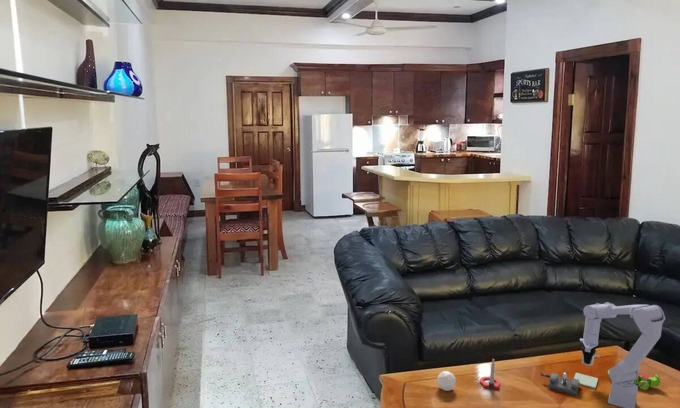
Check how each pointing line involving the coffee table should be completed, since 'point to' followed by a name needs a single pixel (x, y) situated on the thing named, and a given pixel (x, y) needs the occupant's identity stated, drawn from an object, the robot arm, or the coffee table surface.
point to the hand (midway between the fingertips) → (587, 361)
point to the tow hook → (492, 380)
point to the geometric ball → (446, 380)
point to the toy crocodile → (646, 381)
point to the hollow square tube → (591, 360)
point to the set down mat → (586, 380)
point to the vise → (563, 383)
